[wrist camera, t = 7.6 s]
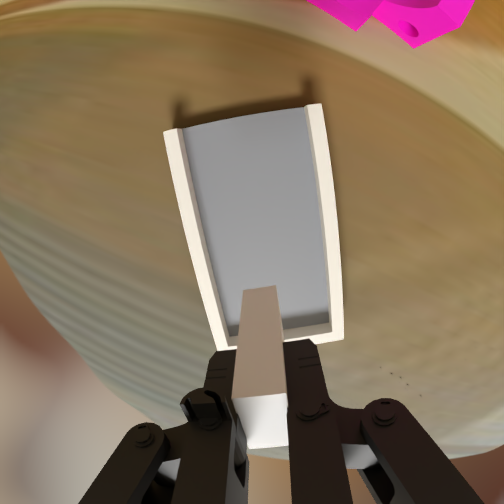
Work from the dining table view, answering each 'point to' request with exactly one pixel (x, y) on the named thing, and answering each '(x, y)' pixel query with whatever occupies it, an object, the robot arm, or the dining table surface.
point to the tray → (262, 219)
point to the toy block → (401, 16)
